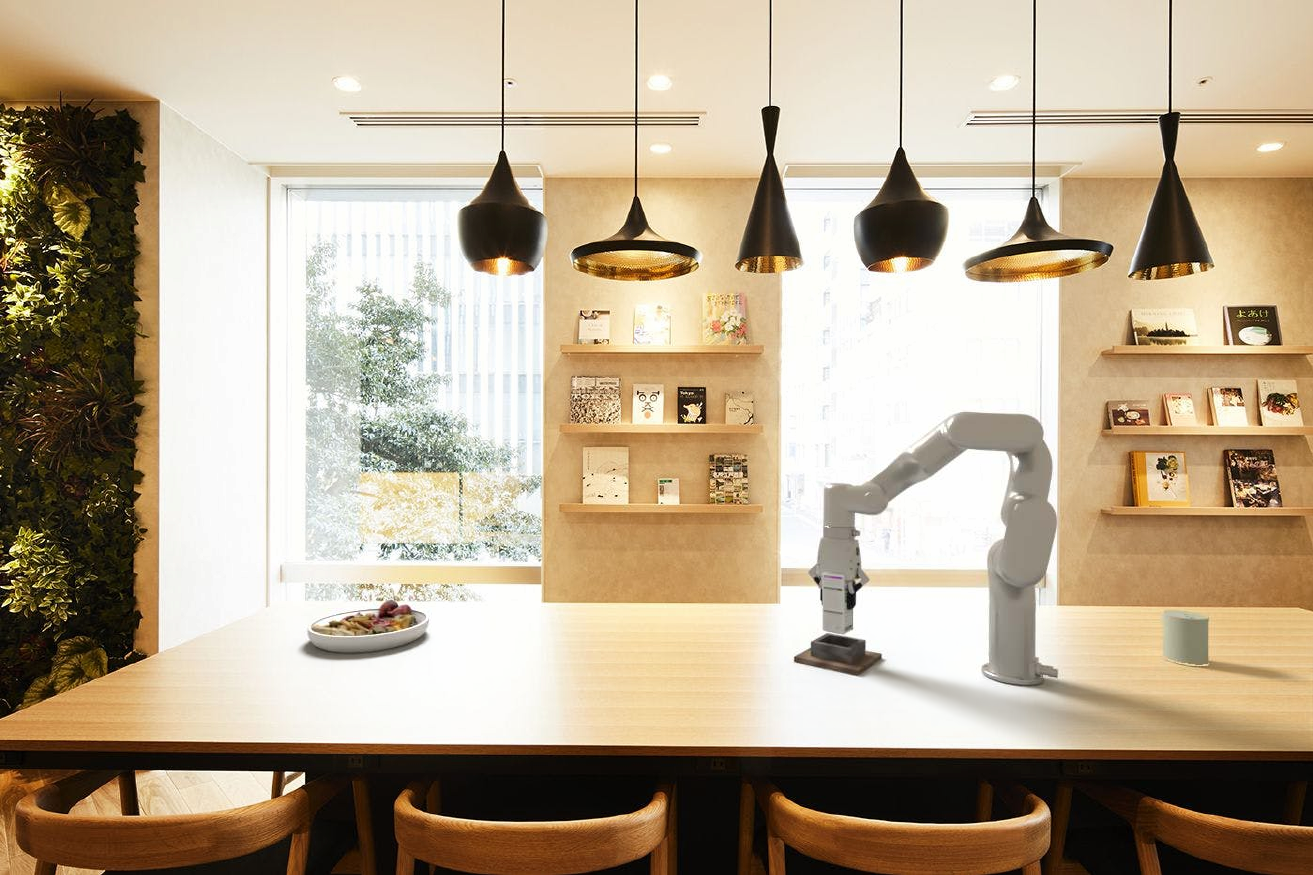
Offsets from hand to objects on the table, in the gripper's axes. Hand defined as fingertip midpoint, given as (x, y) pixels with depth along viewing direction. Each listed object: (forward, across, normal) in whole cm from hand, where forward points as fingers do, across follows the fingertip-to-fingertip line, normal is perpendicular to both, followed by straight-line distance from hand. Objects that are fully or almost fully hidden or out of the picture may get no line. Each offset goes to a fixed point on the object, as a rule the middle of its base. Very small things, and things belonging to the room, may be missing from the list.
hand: (837, 605), depth 165 cm
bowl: (+15, +106, +62) cm, 124 cm away
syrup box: (+6, 0, 0) cm, 6 cm away
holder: (+13, 0, 0) cm, 13 cm away
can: (+13, -68, -54) cm, 88 cm away
